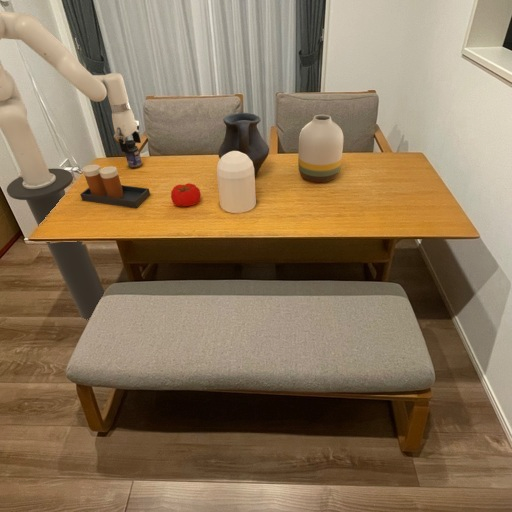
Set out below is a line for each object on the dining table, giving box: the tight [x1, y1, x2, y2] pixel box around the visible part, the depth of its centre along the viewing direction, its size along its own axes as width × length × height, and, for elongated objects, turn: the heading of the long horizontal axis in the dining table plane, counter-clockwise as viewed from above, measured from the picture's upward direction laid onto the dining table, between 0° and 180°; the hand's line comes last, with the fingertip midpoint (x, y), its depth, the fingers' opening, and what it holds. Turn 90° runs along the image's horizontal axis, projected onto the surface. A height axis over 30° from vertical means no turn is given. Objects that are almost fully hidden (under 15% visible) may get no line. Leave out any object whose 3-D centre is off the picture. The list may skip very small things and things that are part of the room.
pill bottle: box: [124, 139, 143, 169], centre depth 169 cm, size 6×6×11 cm
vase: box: [297, 114, 344, 183], centre depth 150 cm, size 17×17×24 cm
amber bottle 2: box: [100, 165, 124, 199], centre depth 147 cm, size 6×6×11 cm
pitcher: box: [218, 112, 270, 176], centre depth 154 cm, size 21×22×25 cm
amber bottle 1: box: [82, 163, 107, 196], centre depth 149 cm, size 6×6×11 cm
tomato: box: [170, 182, 202, 207], centre depth 143 cm, size 10×11×6 cm
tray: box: [79, 184, 151, 209], centre depth 150 cm, size 24×10×3 cm, turn 73°
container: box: [216, 151, 257, 214], centre depth 137 cm, size 14×13×20 cm
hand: (131, 147), depth 167 cm, fingers open, 9 cm apart
